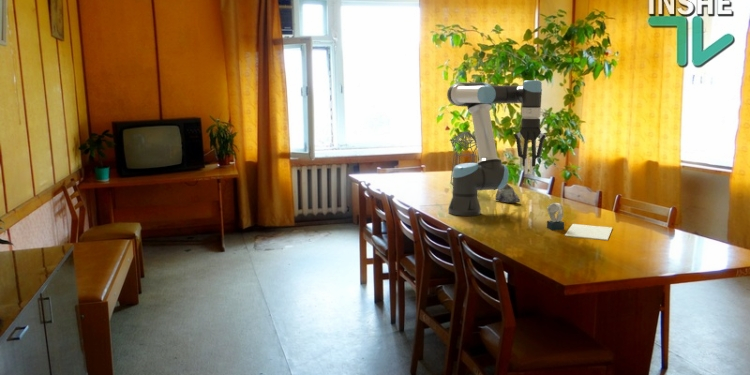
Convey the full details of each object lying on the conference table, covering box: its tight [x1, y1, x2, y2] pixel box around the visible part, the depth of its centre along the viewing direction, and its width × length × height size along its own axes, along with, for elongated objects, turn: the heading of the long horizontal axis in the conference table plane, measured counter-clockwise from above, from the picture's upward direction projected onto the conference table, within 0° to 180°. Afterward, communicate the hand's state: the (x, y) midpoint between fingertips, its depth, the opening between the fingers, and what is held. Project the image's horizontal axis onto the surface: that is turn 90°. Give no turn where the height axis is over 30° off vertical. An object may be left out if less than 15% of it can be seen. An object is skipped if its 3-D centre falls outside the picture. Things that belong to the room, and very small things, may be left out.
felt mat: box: [564, 223, 613, 241], centre depth 237 cm, size 16×22×1 cm
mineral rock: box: [495, 183, 521, 204], centre depth 300 cm, size 13×11×10 cm
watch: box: [546, 202, 565, 231], centre depth 242 cm, size 6×8×11 cm
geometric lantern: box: [449, 131, 478, 187], centre depth 328 cm, size 16×16×35 cm
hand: (528, 174), depth 245 cm, fingers closed
